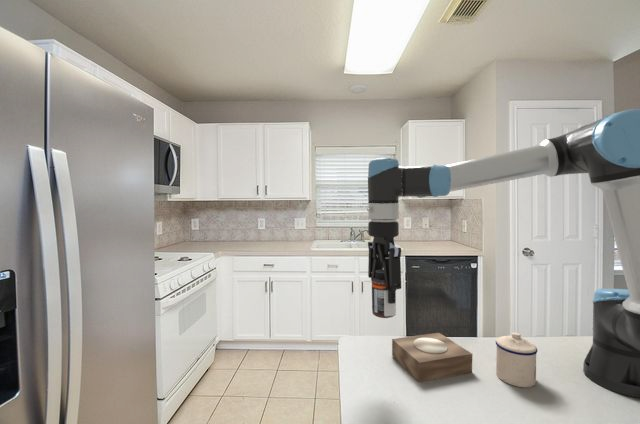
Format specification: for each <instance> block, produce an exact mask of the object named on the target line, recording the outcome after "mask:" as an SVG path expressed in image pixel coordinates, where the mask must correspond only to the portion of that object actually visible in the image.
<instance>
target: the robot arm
mask: <svg viewBox="0 0 640 424" xmlns="http://www.w3.org/2000/svg"><path fill="white" fill-rule="evenodd" d="M367 173H368V174H367V175H368V176H367V194H368V195H367V197H368V198H367V199H368V205H367V206H368V207H367V208H366V211H367V212H368V220H370V221H368V223H367V226H368V232H367V233H368V236H369V237H373V238H372V239H373V241H368V242H367V247H368V263H367V265H368V266H367V267H368V269H367V271H368V272H367V273H368V274H367V277H368V278H370V281H371V282H372V280H373V279H374V278H375V277H376V276H375V271H376V270H380V269H384V277H385V284H386V288H383V289H384V316H393V317H395V316H396V315H397V312H396V311H397V307H396V306H397V305H396V304H397V303H396V302H397V301H396V300H397V299H396V298H397V296H396V293H397V292H396V291H397V290H401V289H402V273H401V272H402V270H401V269H402V267H401V255H402V247H396V243H395V240H394V238H395V237H398V236H399V225H400V223H399V222H398V221H397V220H399V215H400V213H399V210H400V209H399V205H400V204H399V197H400V198H401V197H402V198H405V197H409V198H410V197H414V198H415V197H416V198H420V199H421V198H428V197H429V198H430V197H433V198H438V197H446V196H448V195H449V194H450V192H456V191H460V190H467V189H471V188H477V187H481V186H488V185H493V184H498V183H503V182H509V181H514V180H519V179H525V178H531V177H535V176H542V175H545V176H547V177H549V178H552V177H557V176H563V175H575V174H579V175H580V174H588V177H589V180H590V184H591V185H592V186H594V187H596V188H599V189H600V190H601V191H602V194H603V198H604V202H605V206H606V210H607V214H608V217H609V221H610V225H611V229H612V232H613V237H614V241H615V244H616V249H617V252H618V257H619V260H620V264H621V268H622V271H623V276H624V279H625V283H626V287H627V289H623V288H608V287H607V288H604V287H603V288H598V289H596V290H595V291H594V294H593V295H594V296H593V300H592V303H593V305H592V306H593V307H592V308H593V309H592V313H593V314H592V344H591V346H590V349H589V350H588V353H587V354H586V356H585V358H584V361H583V364H582V365H583V366H582V367H583V368H582V369H583V370H582V371H583V374H584V375H585V376H586V377H587V378H588V379H589V380H590V381H592V382H594V383H596V384H598V385H599V386H601V387H603V388H606V389H607V390H610V391H613V392H615V393H618V394H622V395H624V396H629V397H633V398H637V399H640V108H631V109H626V110H622V111H618V112H614V113H612V114H609V115H606V116H604V117H602V118H600V119H597V120H596V121H593V122H590V123H588V124H585V125H583V126H580V127H579V128H577V129H575V130H572V131H569V132H568V133H564V134H562V135H560V136H559V135H558V136H556V137H553V138H548V139H544V140H542V141H541V142H540V143H539V145H535V146H530V147H524V148H521V149H516V150H511V151H510V150H509V151H506V152H501V153H497V154H492V155H488V156H483V157H478V158H473V159H469V160H463V161H459V162H455V163H450V164H446V165H445V164H444V165H443V164H441V165H440V164H432V165H415V166H414V165H411V166H402V165H400V164H399V160H398V159H397V158H393V157H390V158H389V157H388V158H387V157H380V158H374V159H371V160H370V162H369V163H368V172H367ZM394 315H395V316H394Z"/></svg>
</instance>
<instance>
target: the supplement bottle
mask: <svg viewBox="0 0 640 424" xmlns="http://www.w3.org/2000/svg"><path fill="white" fill-rule="evenodd" d="M375 276H376V277H375V278H374V279H373V280H372V281H371V311H372V315H373V316H375V317H377V318H381V319H389V318H393V317H395V316H396V315H394V316H384V289H383V288H386V284H385V277H384V269H380V270H376V271H375Z"/></svg>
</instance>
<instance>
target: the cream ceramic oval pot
mask: <svg viewBox="0 0 640 424" xmlns="http://www.w3.org/2000/svg"><path fill="white" fill-rule="evenodd" d="M495 345H496V351H495V352H496V356H495V357H496V358H495V360H496V366H495V367H496V368H495V371H496V376H497V377H498V378H499V379H500V380H501V381H502V382H504V383H506V384H509V385H511V386H515V387H518V388H531V387H534V386H535V385H536V383H537V382H536V381H537V380H536V379H537V353H538V347H537V346H536V345H535V344H534V343H533V342H532V341H530V340H527V339H525V338H524V337H522V335H521V334H520V333H519V332H511V334H510V335H503V336H499V337H497V338H496V340H495Z"/></svg>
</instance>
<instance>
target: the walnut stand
mask: <svg viewBox="0 0 640 424" xmlns="http://www.w3.org/2000/svg"><path fill="white" fill-rule="evenodd" d="M391 346H392V347H391V355H392V357H393V358H394V359H395V360H396V361H397V362H398V363H399V364H400V365H401V366H402V367H403V368H404V369H405V370H406V371H407V372H408V373H409V374H410V375H412V376H413V377H414V378H415V380H416V381H417V382H419V383H423V382H427V381H431V380H438V379H439V380H440V379H443V378H448V377H454V376H460V375H465V374H470V373H473V353H472V352H470V351H469V350H467V349H466V348H464V347H462V346H461V345H459V344H458V343H456V342H454V341H453V340H451V339H450V338H448V337H447V336H445V335H443V334H442V333H440V332H434V333H433V332H432V333H427V334H426V333H425V334H420V335H419V334H417V335H412V336H411V335H410V336H405V337H398V338H392V340H391Z"/></svg>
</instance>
